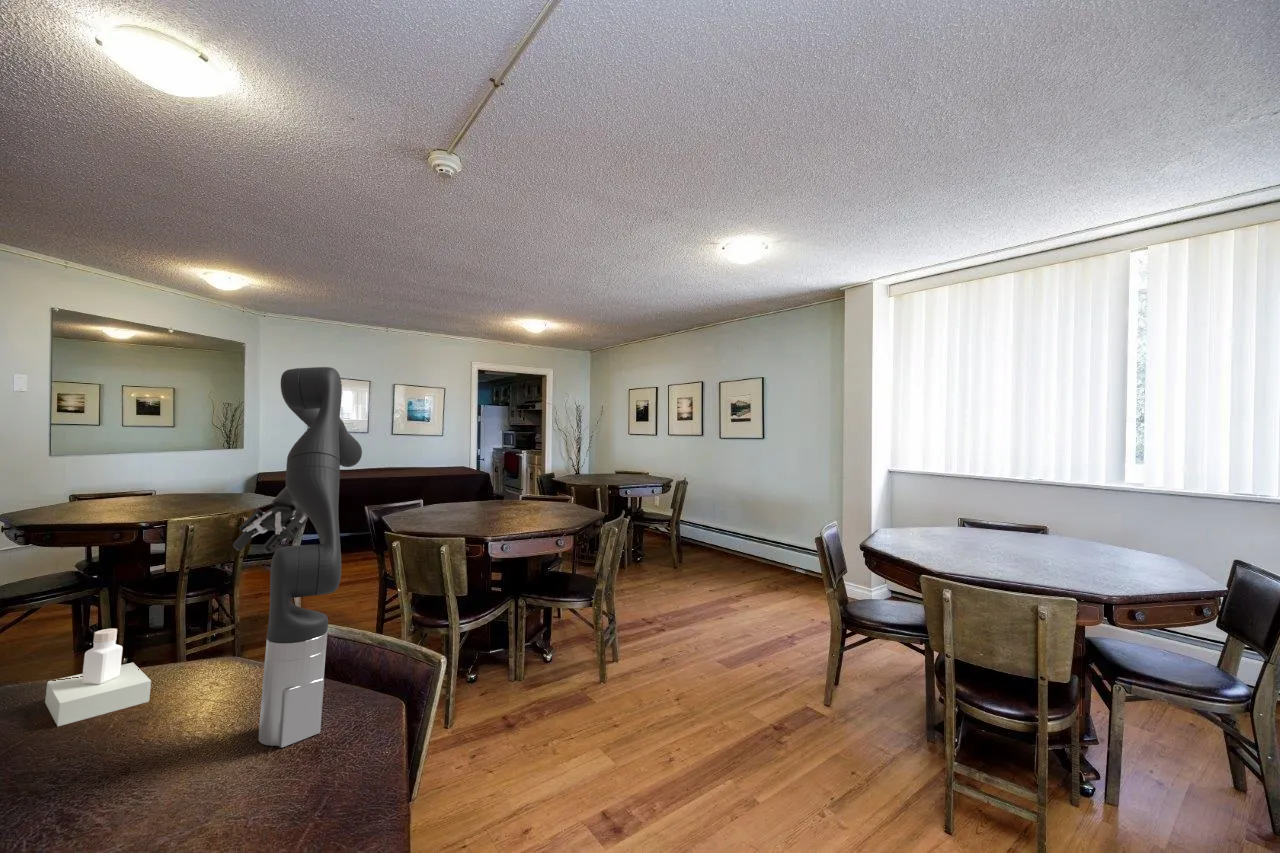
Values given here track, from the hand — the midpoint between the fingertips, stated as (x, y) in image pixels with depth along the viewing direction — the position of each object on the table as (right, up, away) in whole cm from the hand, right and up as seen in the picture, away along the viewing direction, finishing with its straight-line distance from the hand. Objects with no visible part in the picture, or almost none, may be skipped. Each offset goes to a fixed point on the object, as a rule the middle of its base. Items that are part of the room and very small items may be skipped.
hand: (250, 549), depth 115 cm
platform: (-18, -26, -16) cm, 35 cm away
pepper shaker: (-18, -22, -16) cm, 32 cm away
